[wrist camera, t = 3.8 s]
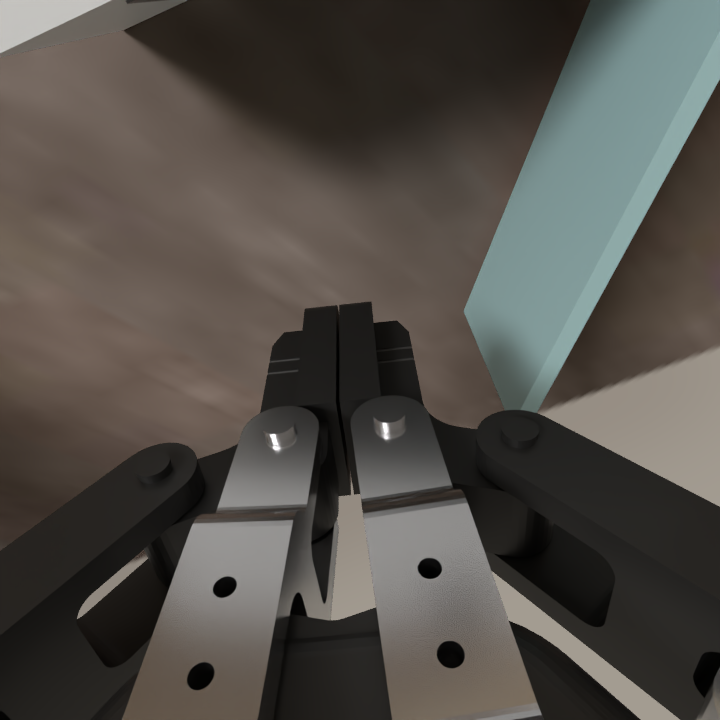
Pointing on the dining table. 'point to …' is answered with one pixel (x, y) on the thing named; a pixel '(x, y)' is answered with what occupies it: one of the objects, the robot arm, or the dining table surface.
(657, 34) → the door
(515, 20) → the dining table surface
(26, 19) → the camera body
